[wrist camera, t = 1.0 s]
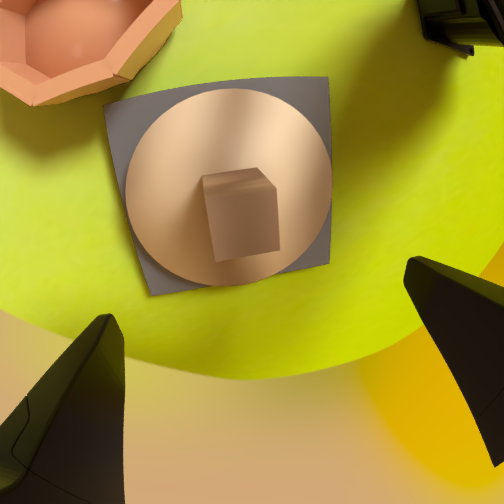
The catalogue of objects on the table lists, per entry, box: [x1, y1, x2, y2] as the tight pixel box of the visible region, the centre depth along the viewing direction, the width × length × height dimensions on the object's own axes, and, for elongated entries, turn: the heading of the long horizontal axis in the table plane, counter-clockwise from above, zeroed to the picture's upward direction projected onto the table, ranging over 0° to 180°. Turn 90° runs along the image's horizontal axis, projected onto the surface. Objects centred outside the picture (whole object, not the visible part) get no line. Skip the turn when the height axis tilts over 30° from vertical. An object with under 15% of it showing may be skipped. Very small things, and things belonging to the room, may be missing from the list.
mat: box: [103, 77, 332, 296], centre depth 18 cm, size 13×13×1 cm
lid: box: [125, 88, 333, 286], centre depth 15 cm, size 12×12×5 cm
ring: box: [0, 0, 183, 106], centre depth 9 cm, size 11×11×4 cm
